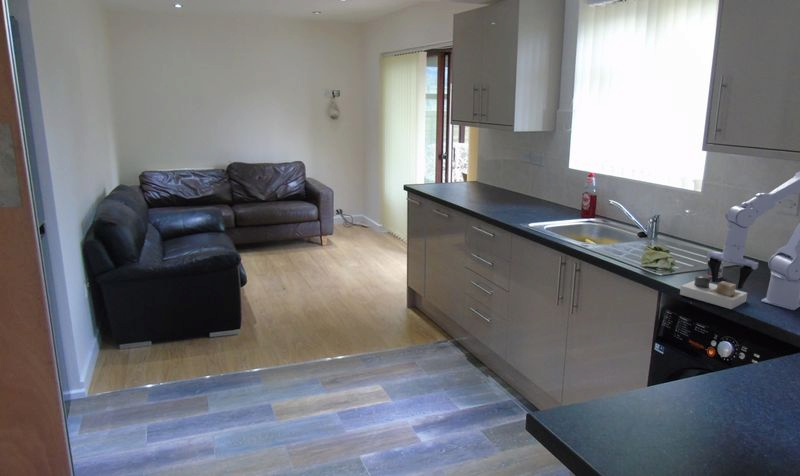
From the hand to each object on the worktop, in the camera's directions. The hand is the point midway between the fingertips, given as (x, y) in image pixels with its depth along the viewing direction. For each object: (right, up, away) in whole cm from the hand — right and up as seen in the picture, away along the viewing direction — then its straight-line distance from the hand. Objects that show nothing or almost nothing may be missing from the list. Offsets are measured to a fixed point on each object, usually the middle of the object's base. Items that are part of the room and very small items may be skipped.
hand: (727, 284), depth 183 cm
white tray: (-3, -5, +4) cm, 7 cm away
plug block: (0, -5, +1) cm, 6 cm away
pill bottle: (+11, +1, +28) cm, 30 cm away
